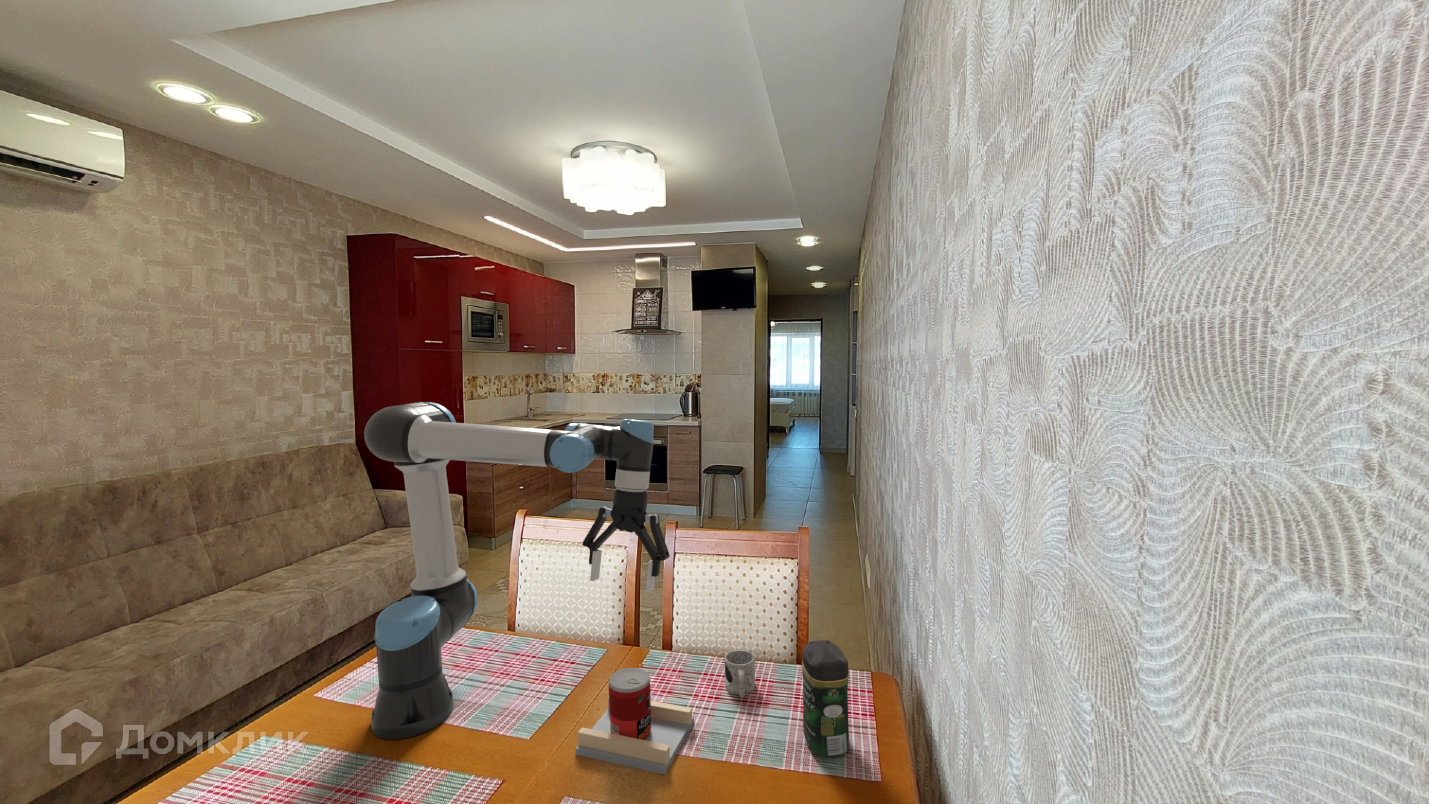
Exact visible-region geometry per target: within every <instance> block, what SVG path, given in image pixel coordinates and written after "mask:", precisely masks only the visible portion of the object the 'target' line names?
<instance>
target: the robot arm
mask: <svg viewBox="0 0 1429 804" xmlns="http://www.w3.org/2000/svg"><path fill="white" fill-rule="evenodd" d="M654 429H655V426H654V424H653V422H652V421H649V420H643V419H641V420H639V419H628V418H623V419H622V420H621V422H620V424H619V426H611V425H601V424H600V425H599V424H590V423H586V422H579V423H578V422H571V423H569V424H567V425H566V427H565V429H564V430H562V429H561V430H559V429H547V428H544V429H543V428H534V427H533V428H532V427H521V426H520V427H518V426H505V425H503V426H502V425H494V424H493V425H491V424H478V423H464V422H457V421H456V419H455V417H454V415H453V414H452V413H451V411H450V410H449V409H448V408H446V407H445V406H443V405H442V404H440V403H436V402H431V401H429V402H428V401H426V402H425V401H418V402H411V403H405V404H400V405H391V406H387V407H384V408H382V409H380V410H378V411H376V412H375V413H374V414H373V415H372V416H371V417H370V418H369V420H368V421H367V423H366V425H365V428H364V433H363V434H364V441H365V444H366V447H367V448H368V450H369V451H370V452H371V454H373V455H374V456H376V457H377V458H379V459H381V460H383V461H386V462H392V463H393V464H394V467H395V468H396V469H398V470H399V471H401V472H402V474H403V479H404V487H405V495H406V496H405V497H406V502H407V509H408V510H407V511H408V517H409V527H410V533H411V540H412V548H413V549H412V550H413V557H414V564H415V571H416V576H415V578H414V579H413V580H412V582H411V583H410V592H411V596H409V597H406V598H402V599H401V600H400V601H395V602H393V603H391V604H390V605H388V606H386V607H385V608H384V609H383V610H381V612H380V613H379V614H378V616H377V618H376V620H375V631H374V641H375V646H376V647H375V650H376V661H377V662H376V664H377V678H378V679H377V680H378V691H377V695H376V699H375V704H374V708H373V710H372V711H371V716H370V722H371V723H370V724H371V726H370V727H371V732H372V731H373V732H372V734H374V735H375V736H376V737H378V738H380V739H385V740H401V739H408V738H412V737H415V736H418V735H421V734H424V733H426V732H428V731H430V730H432V729H434V728H436V727H438V726H439V725H440V724H442V723H443V722H444V721H445V720H447V719H448V717H449V716H450V715H451V713H452V712H453V711H454V706H453V705H454V694H453V692H452V690H451V688H450V686H449V684H448V681H447V679H446V677H445V674H444V673H443V660H442V659H443V658H442V657H443V656H442V648H443V647H444V646H445V644H447V643H448V642H449V641H450V640H451V639H452V638H453V637H454V636H455V635H456V634H457V633H458V632H459V631H460V630H461V629H463V628H464V627H465V626H466V625H467V624H468V623H469V621H470V620H471V619H472V617H473V615H474V614H475V612H476V610H477V607H478V602H479V597H478V592H477V589H476V587H475V585H474V584H473V583H472V582H470V579H469V578H467V571H465V570H464V569H463V568H461V567H459V563H458V557H457V556H458V555H457V547H456V541H455V540H456V539H455V533H454V532H455V531H454V524H453V515H452V507H451V501H450V499H451V498H450V494H449V493H450V492H449V491H450V490H449V485H448V484H449V483H448V477H447V465H448V464H449V462H450V461H461V462H463V461H464V462H477V463H489V464H490V463H491V464H501V465H503V464H505V465H517V466H518V465H519V466H520V465H521V466H535V467H545V468H556V469H557V470H559V471H561V472H563V473H569V474H571V473H576V472H579V471H582V470H584V469H585V468H587V467H588V466H589V465H590V464H591V463H592V462H593V461H595V460H607V461H616V470H615V471H616V472H615V478H614V486H615V489H614V491H613V497H612V498H613V499H612V508H610V507H609V506H602V507H599V509H598V513H597V517H596V519H595V521H594V522H593V524H592V526H591V528H590V529H589V531H588V532H587V534H586V536H585V538H584V539H583V541H582V547H587V548H588V549H589V555H588V564H589V565H591V566H590V567H591V568H590V576H589V577H590V579H589V581H591V582H595V581H597V580H599V579H600V574H601V563H602V554H603V553H602V552H603V549H600V548H601V546H602V545H603V544H604V543H605V542H606V541H607V540H608V539H609V538H610V537H611V536H612V535H613V534H614V533H615V532H616V531H617V530H618V531H620V532H628V533H630V534H631V533H634V534H635V535H636V536H637V537H638V538H639V540H640V542H641V543H642V545H643V547H644V548H645V550H646V552H647V554H648V556H649V557H650V559H651V560H649V561H648V565H647V566H648V567H647V575H646V586H645V592H646V593H649V594H650V592H652V591H654V590H655V585H656V584H655V583H656V577H658V576H659V574H660V572H661V571H660V570H661V562H662V561H665V560H668V559H669V558H670V552H669V549H668V547H667V543H666V540H665V537H664V534H663V531H662V528H661V525H660V515H659V514H658V513H656V514H648V513H647V507H648V499H649V498H648V497H649V496H648V495H649V492H648V491H647V490H648V489H649V487H650V477H651V476H650V475H651V468H652V467H651V466H652V460H653V459H652V457H653V449H654V443H655V442H654V434H655V433H654V431H655V430H654ZM609 517H611V519H612V522H611V523H610V524H609V525H608V526H607V527H606V529H605V530H604V531H603V532H601V534H599V533H600V531H601V529H602V527H603V525H604V524H605V523H606V521H607V518H609ZM646 521H647V524H648V525H649V528H650V531H651V535H652V537H653V539H652V538H651V536H650V534H649V533H648V529H647V527H646V525H645V522H646ZM598 534H599V536H598ZM597 536H598V537H597Z"/></svg>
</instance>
